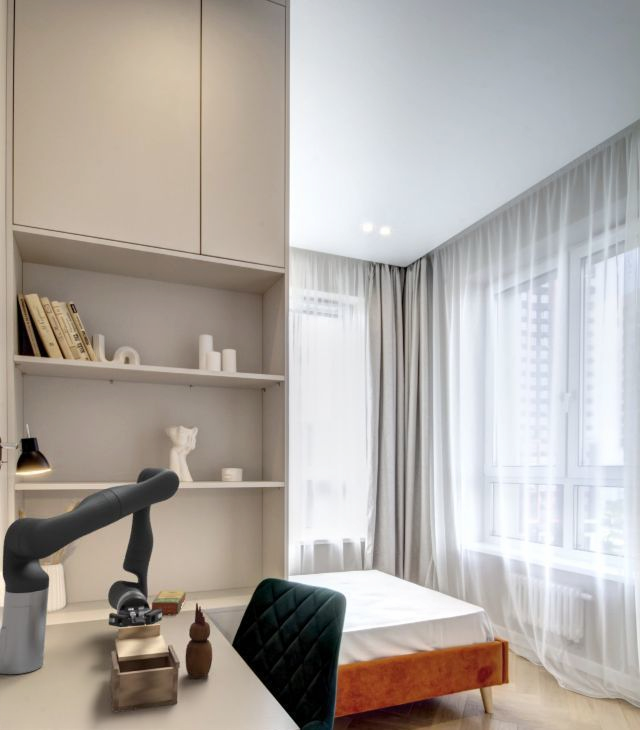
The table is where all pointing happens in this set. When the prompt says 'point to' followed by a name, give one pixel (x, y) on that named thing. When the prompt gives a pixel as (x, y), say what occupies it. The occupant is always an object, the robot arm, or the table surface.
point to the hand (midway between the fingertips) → (139, 626)
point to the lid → (140, 643)
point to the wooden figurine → (199, 647)
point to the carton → (169, 602)
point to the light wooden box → (144, 681)
